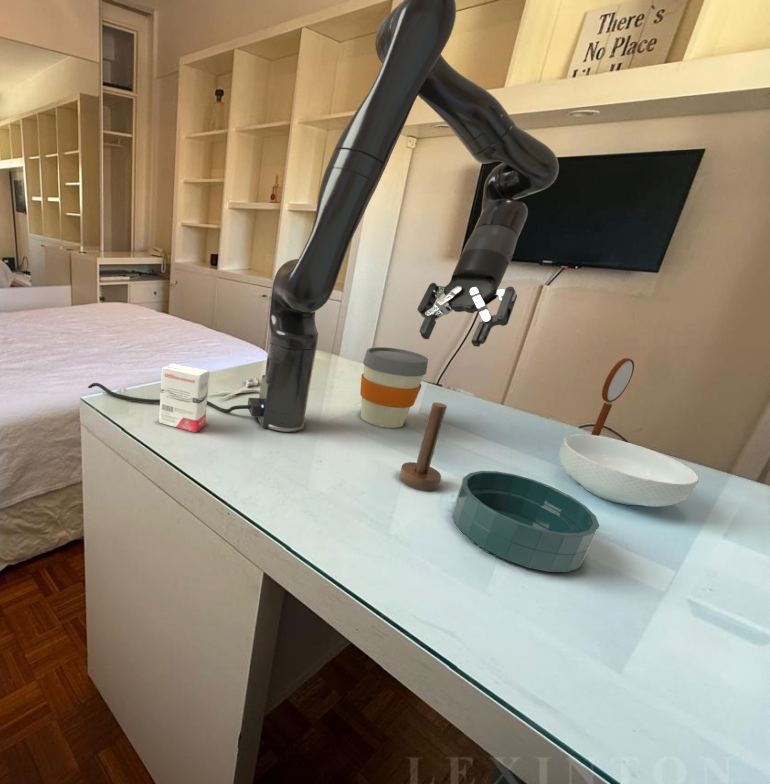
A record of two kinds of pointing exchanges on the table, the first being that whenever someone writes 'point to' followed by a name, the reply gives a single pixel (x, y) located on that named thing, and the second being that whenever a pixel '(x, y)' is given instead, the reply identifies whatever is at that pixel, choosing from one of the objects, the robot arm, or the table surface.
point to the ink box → (183, 397)
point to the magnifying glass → (614, 389)
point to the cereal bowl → (625, 471)
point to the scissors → (243, 388)
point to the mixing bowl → (524, 521)
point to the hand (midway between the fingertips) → (448, 340)
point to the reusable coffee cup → (390, 385)
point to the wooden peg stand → (425, 455)
